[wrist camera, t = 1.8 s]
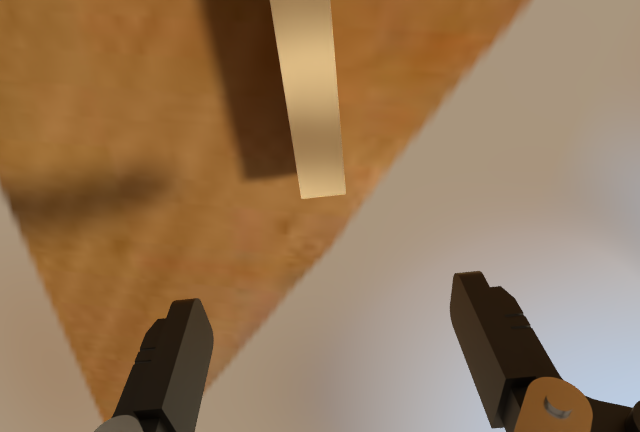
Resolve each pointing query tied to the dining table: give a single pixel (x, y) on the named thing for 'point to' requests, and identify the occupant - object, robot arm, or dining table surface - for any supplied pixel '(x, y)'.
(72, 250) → the dining table surface
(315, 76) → the beige bar
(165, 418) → the robot arm
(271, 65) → the dining table surface
